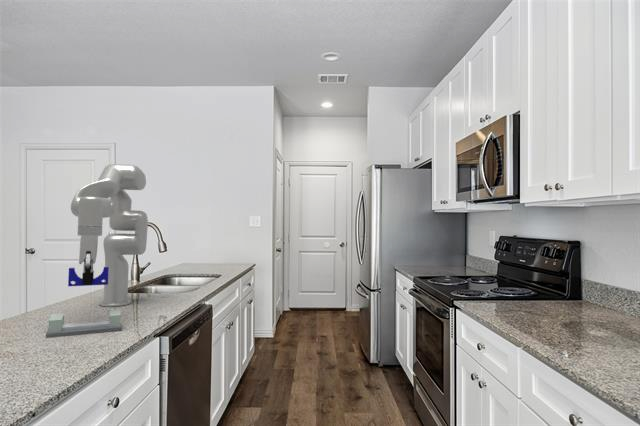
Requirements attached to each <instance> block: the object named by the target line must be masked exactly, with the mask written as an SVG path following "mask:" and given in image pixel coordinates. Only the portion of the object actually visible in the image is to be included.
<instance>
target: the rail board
mask: <svg viewBox="0 0 640 426" xmlns="http://www.w3.org/2000/svg"><path fill="white" fill-rule="evenodd" d="M108 311H109V312H108V320H106V319H105V320H95V321H82V322H71V323H70V322H69V323H65V313H64V312H61V313H52V314H51V316H50V317H49V319H48V326H47V329H46V333H45V339H49V337H50V338H60V337H70V336H80V335H90V334H101V333H111V332H112V333H113V332H122V331H123V320H122V313H121V308H117V309H109V310H108ZM59 336H60V337H59Z"/></svg>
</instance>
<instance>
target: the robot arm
mask: <svg viewBox="0 0 640 426" xmlns="http://www.w3.org/2000/svg"><path fill="white" fill-rule="evenodd" d="M146 185H147V178H146V174H145V173H144V172H143V170H142V169H141V168H140V167H138V165H134V164H123V163H111V164H108V165H106V166H105V167H104V168H103V170H102V172H101V174H100V175H99V177H98V180H97V181H93V182H91V183H89V184H87V185H84V186H83V187H81V188H79V189H78V190H77V191H76V192H75V195H74V196H73V199H72V200H71V203H70V211H71V214H72V215H74V216H75V217H77V218H78V220H77V236H80V241H79V257H78V258H79V259H78V264H79V265H82V264H83V269H82V270H83V271H82V284H83V285H87V284H93V279H94V278H95V277H94V272H95V271H94V264H95V263H96V261H97V254H98V242H99V236H100V237H101V236H103V219H105V218H109V220H108V221H109V227H110V229H111V230H112V231H119V232H121V231H122V232H135V233H110V234H109V233H108V235H106V236H105V237H104V239H103V251H104V267H109V269H108V285H103V300H100V301H99V305H100V306H102V307H110V308H111V307H123V306H127V305H130V304H131V303H132V300H131V299H129V298H128V293H129V292H128V290H129V289H128V288H129V269H130V268H129V266H130V265H129V261H128V260H127V259H126V258H125V256H128V255H129V256H131V255H132V256H137V255H138V256H139V255H140V256H141V255H143V254H145V252H146V250H147V242H148V241H147V240H148V226H149V223H148V221H149V220H148V214H147V213H146V212H145V211H143V210H133V209H132V203H133V201H132V198H131V197H130V195H129V194H128V193H127V191H143V190H144V189H145V188H146ZM125 190H127V191H125ZM105 281H106V280H103V282H105Z"/></svg>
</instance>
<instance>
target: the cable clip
mask: <svg viewBox="0 0 640 426" xmlns="http://www.w3.org/2000/svg"><path fill="white" fill-rule="evenodd" d="M75 269H76V268H75V267H69V268H68V277H67V278H68V280H67V281H68V282H67V283H68V284H67V286H68V287H81V286H82V287H83V286H84V287H85V286H87V287H88V286H104V285H108V269H109V267H105V266H103V270H102V272H101V273H100V274H99V275H98V276H95V277H93V284H87V285H83V284H82V278H81V277H80V276H79V275H78V274H77V272H76V270H75ZM104 280H106V281H105V282H104ZM72 282H74V283H72Z"/></svg>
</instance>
